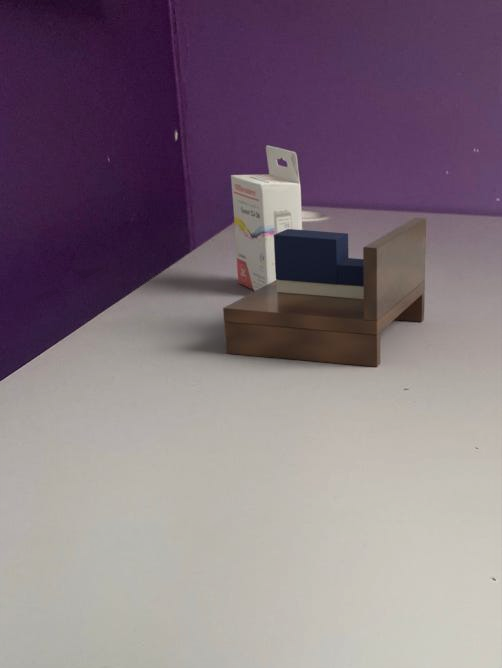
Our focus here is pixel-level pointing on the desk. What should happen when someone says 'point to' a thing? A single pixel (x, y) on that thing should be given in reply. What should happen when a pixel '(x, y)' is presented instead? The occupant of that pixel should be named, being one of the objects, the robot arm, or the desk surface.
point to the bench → (336, 308)
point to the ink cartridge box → (264, 215)
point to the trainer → (317, 264)
